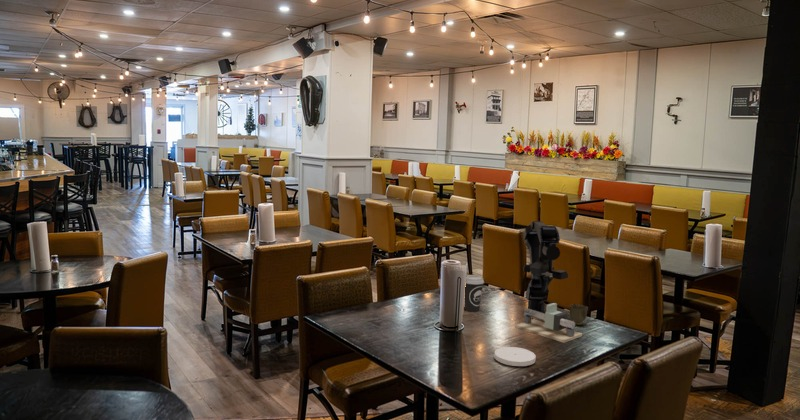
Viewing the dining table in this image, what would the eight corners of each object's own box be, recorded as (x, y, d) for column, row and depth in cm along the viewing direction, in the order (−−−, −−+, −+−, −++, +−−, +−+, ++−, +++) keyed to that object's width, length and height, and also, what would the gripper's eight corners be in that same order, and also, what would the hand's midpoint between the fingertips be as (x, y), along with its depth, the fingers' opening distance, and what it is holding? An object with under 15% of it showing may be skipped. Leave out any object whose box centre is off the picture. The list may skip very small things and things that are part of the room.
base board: (514, 327, 235) (514, 324, 235) (533, 321, 244) (533, 318, 244) (564, 342, 218) (564, 340, 218) (582, 335, 227) (582, 333, 227)
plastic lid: (515, 372, 189) (516, 364, 189) (485, 358, 201) (486, 351, 200) (543, 363, 197) (544, 356, 197) (513, 351, 209) (514, 344, 208)
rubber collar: (553, 329, 225) (554, 314, 225) (561, 326, 229) (562, 312, 229) (557, 331, 224) (558, 316, 223) (566, 328, 228) (567, 313, 227)
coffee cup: (482, 307, 262) (483, 275, 260) (483, 313, 253) (484, 280, 251) (461, 306, 263) (462, 274, 261) (461, 312, 254) (462, 279, 252)
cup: (583, 328, 236) (584, 309, 235) (565, 324, 240) (566, 306, 239) (589, 324, 242) (590, 306, 241) (572, 320, 246) (573, 302, 245)
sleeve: (544, 327, 228) (545, 305, 227) (553, 324, 232) (554, 302, 231) (553, 329, 225) (554, 307, 224) (561, 326, 229) (563, 304, 228)
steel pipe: (523, 322, 238) (523, 308, 237) (527, 321, 240) (528, 307, 239) (570, 337, 222) (571, 321, 221) (574, 335, 224) (575, 320, 223)
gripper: (516, 253, 243) (514, 289, 244) (554, 261, 229) (552, 299, 231) (532, 250, 250) (529, 285, 252) (569, 258, 236) (567, 294, 238)
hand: (544, 291), depth 243 cm, fingers closed
